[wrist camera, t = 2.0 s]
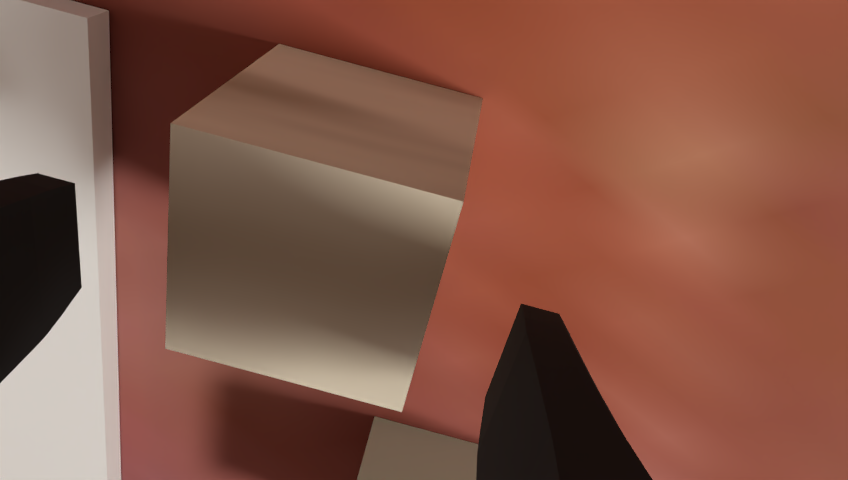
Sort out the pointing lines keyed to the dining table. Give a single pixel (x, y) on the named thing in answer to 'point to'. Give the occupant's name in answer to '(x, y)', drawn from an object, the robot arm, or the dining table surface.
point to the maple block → (315, 221)
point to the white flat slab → (93, 176)
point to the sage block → (415, 454)
